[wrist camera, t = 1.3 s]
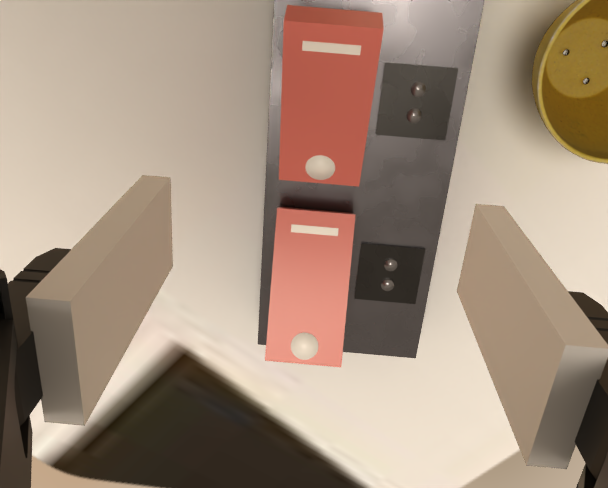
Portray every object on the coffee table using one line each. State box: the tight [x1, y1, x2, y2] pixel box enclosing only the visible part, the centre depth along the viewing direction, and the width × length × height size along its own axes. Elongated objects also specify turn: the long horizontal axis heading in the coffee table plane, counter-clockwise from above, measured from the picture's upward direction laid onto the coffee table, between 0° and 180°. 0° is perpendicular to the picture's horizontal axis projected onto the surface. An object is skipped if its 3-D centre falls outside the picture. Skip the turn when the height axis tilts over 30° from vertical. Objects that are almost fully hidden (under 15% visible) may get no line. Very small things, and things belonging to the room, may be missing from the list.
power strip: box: [258, 0, 484, 358], centre depth 39 cm, size 26×12×6 cm, turn 176°
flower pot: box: [532, 0, 608, 164], centre depth 34 cm, size 10×10×7 cm
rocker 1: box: [279, 5, 384, 187], centre depth 33 cm, size 10×5×2 cm, turn 175°
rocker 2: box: [265, 207, 356, 367], centre depth 38 cm, size 10×5×2 cm, turn 176°
